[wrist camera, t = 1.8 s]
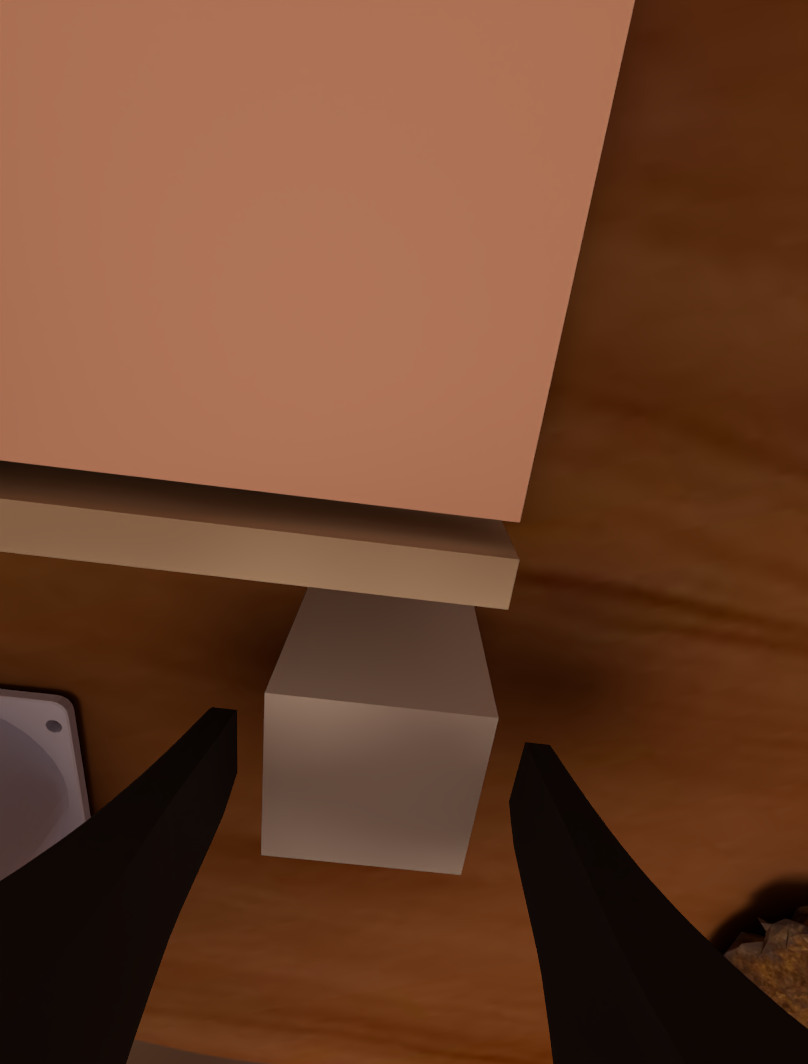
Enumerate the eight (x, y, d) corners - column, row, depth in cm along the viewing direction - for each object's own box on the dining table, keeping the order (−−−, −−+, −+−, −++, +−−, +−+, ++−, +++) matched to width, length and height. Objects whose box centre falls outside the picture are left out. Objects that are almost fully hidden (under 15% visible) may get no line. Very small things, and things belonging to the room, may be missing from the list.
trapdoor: (509, 504, 10) (547, 573, 7) (-223, 416, 10) (-486, 451, 7) (670, -262, 6) (878, -741, 3) (-517, -455, 6) (-1371, -1177, 3)
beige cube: (448, 728, 17) (460, 874, 13) (302, 712, 17) (261, 855, 13) (473, 601, 15) (498, 718, 11) (309, 582, 15) (264, 693, 11)
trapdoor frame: (474, 509, 14) (507, 609, 9) (-89, 441, 14) (-386, 507, 9) (593, -149, 9) (809, -722, 4) (-267, -284, 9) (-1174, -1104, 4)
